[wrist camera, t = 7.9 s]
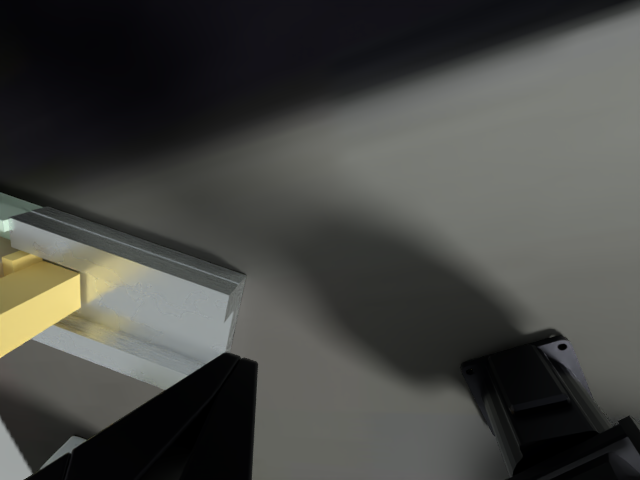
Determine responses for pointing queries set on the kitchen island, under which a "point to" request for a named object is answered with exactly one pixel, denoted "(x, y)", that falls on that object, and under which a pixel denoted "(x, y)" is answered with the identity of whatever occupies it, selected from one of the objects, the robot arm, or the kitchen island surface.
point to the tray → (12, 211)
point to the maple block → (5, 251)
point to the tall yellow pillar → (33, 297)
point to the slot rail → (133, 298)
